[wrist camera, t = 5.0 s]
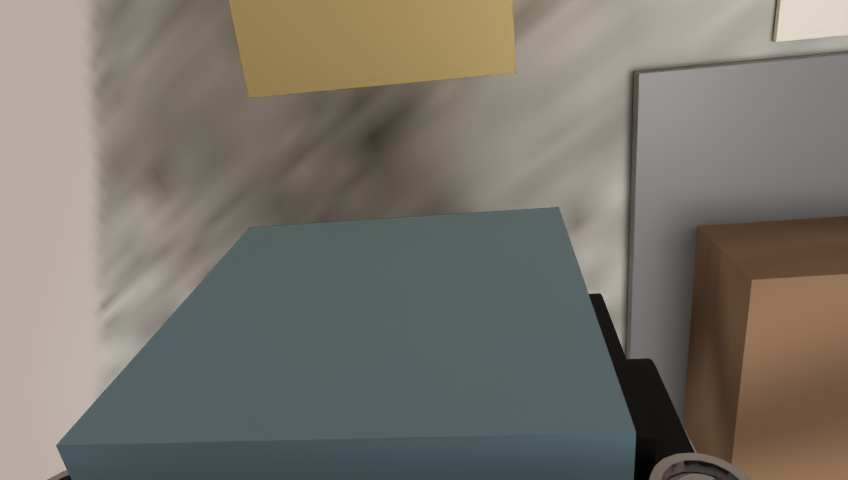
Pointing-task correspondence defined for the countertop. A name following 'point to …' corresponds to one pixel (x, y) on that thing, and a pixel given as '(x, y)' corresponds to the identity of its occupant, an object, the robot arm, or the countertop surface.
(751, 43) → the countertop surface
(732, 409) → the walnut base brick
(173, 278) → the countertop surface
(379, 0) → the ochre brick
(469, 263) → the blue brick
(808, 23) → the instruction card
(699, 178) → the grey flat board
